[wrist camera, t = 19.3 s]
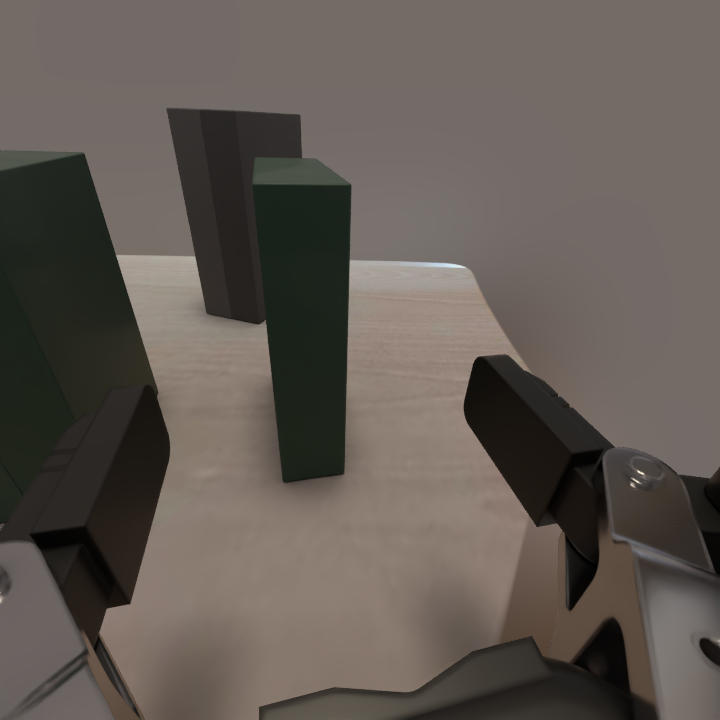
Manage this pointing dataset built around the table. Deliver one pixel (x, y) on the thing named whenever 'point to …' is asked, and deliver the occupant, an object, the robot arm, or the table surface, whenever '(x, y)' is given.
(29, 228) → the green rectangular block
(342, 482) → the table surface
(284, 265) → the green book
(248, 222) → the grey faceted block
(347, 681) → the table surface
